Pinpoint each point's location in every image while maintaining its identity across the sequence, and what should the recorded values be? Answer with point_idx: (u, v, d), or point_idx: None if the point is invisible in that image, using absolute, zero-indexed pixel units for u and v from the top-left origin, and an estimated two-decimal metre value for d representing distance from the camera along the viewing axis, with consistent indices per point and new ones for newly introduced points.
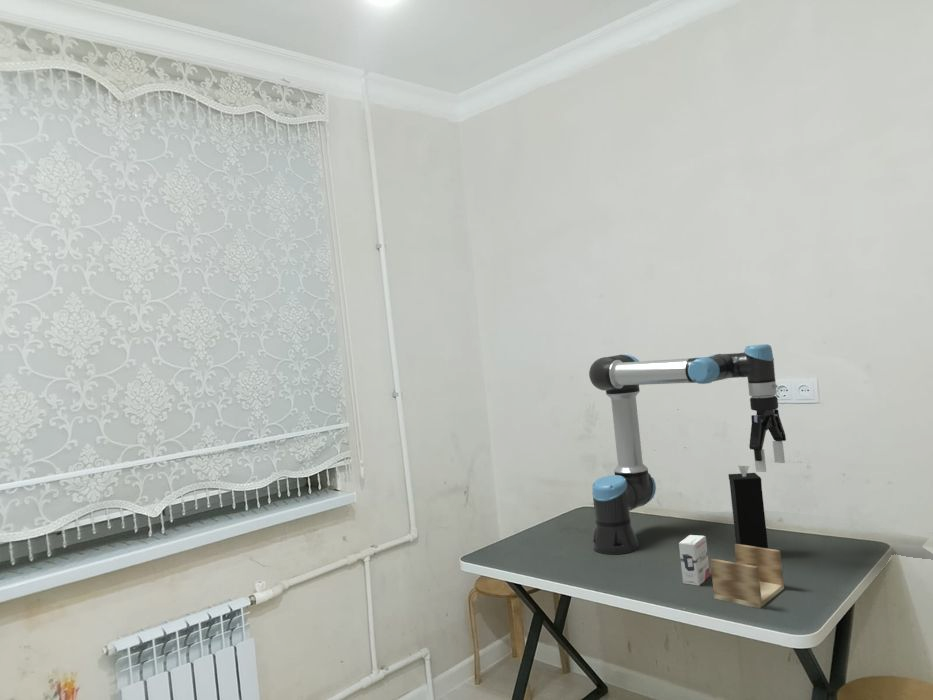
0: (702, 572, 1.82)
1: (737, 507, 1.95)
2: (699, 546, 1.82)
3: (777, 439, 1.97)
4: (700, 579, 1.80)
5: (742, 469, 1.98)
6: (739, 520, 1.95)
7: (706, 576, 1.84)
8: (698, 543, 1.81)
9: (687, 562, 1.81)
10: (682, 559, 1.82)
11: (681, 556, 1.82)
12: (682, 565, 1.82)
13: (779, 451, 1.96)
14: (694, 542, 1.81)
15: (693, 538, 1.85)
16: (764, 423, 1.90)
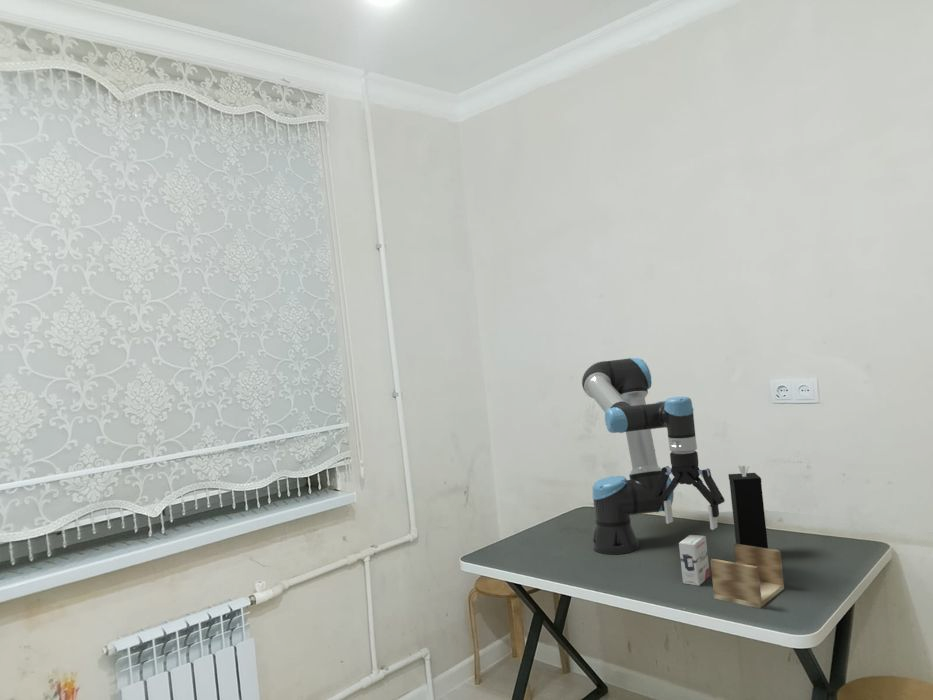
0: (702, 572, 1.82)
1: (737, 507, 1.95)
2: (699, 546, 1.82)
3: None
4: (700, 579, 1.80)
5: (742, 469, 1.98)
6: (739, 520, 1.95)
7: (706, 576, 1.84)
8: (698, 543, 1.81)
9: (687, 562, 1.81)
10: (682, 559, 1.82)
11: (681, 556, 1.82)
12: (682, 565, 1.82)
13: None
14: (694, 542, 1.81)
15: (693, 538, 1.85)
16: None
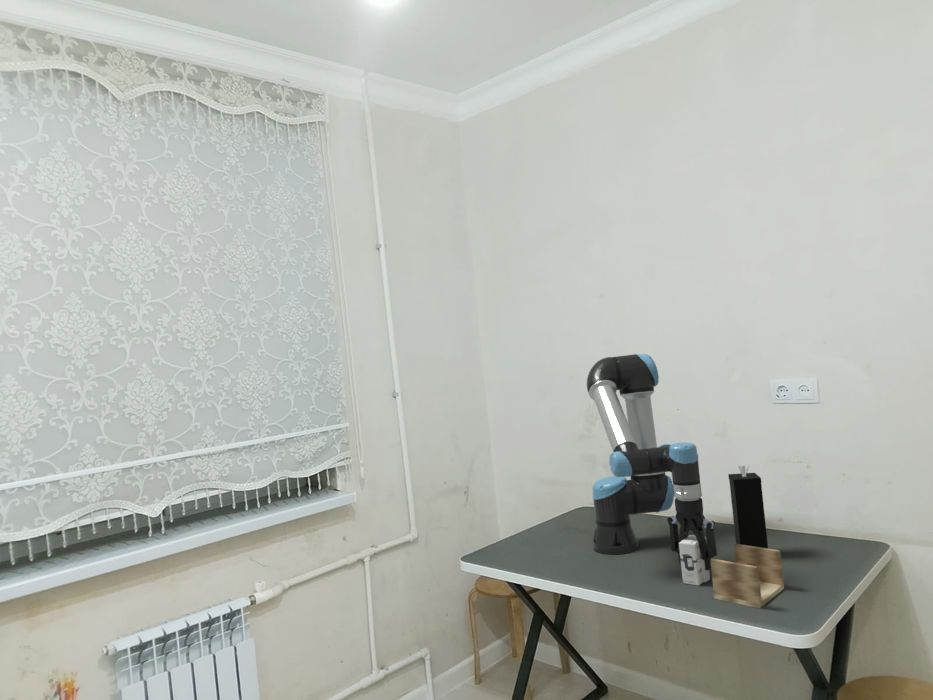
0: None
1: (737, 507, 1.95)
2: None
3: None
4: (700, 578, 1.80)
5: (742, 469, 1.98)
6: (739, 520, 1.95)
7: None
8: (698, 543, 1.81)
9: (687, 562, 1.81)
10: (682, 559, 1.82)
11: (681, 556, 1.82)
12: (682, 565, 1.82)
13: None
14: (694, 542, 1.81)
15: (693, 538, 1.85)
16: None
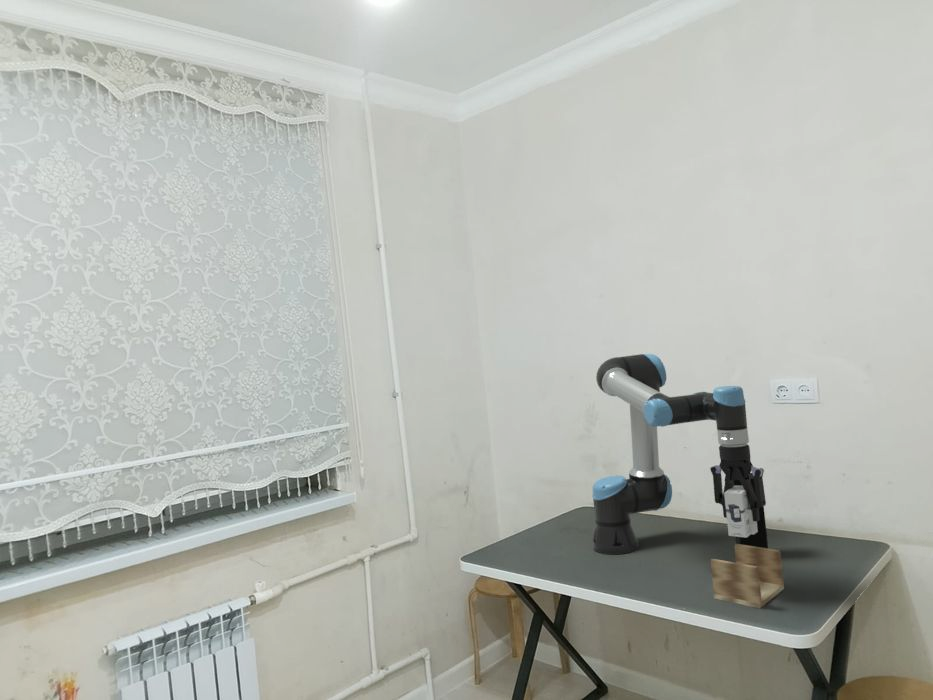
0: None
1: None
2: None
3: None
4: (748, 530, 1.67)
5: None
6: None
7: None
8: (745, 492, 1.68)
9: (734, 512, 1.68)
10: (727, 510, 1.69)
11: (727, 506, 1.69)
12: (728, 516, 1.69)
13: None
14: (741, 491, 1.68)
15: (739, 488, 1.71)
16: None
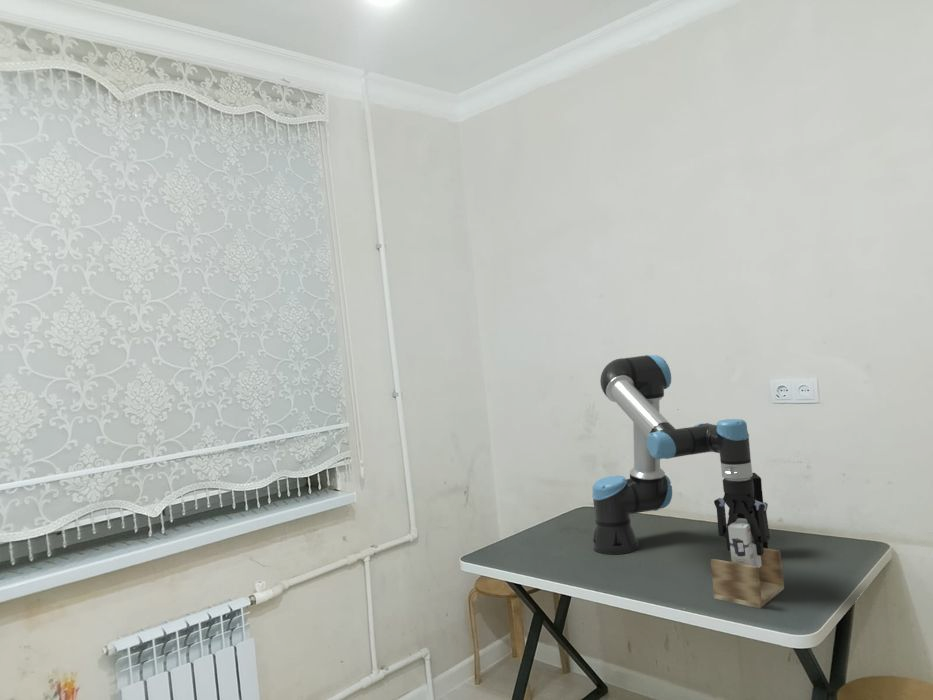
0: None
1: None
2: (750, 530, 1.69)
3: None
4: (752, 565, 1.67)
5: None
6: None
7: None
8: (749, 527, 1.68)
9: (738, 546, 1.68)
10: (731, 544, 1.69)
11: (730, 540, 1.69)
12: (732, 550, 1.69)
13: None
14: (745, 525, 1.68)
15: (743, 521, 1.71)
16: None
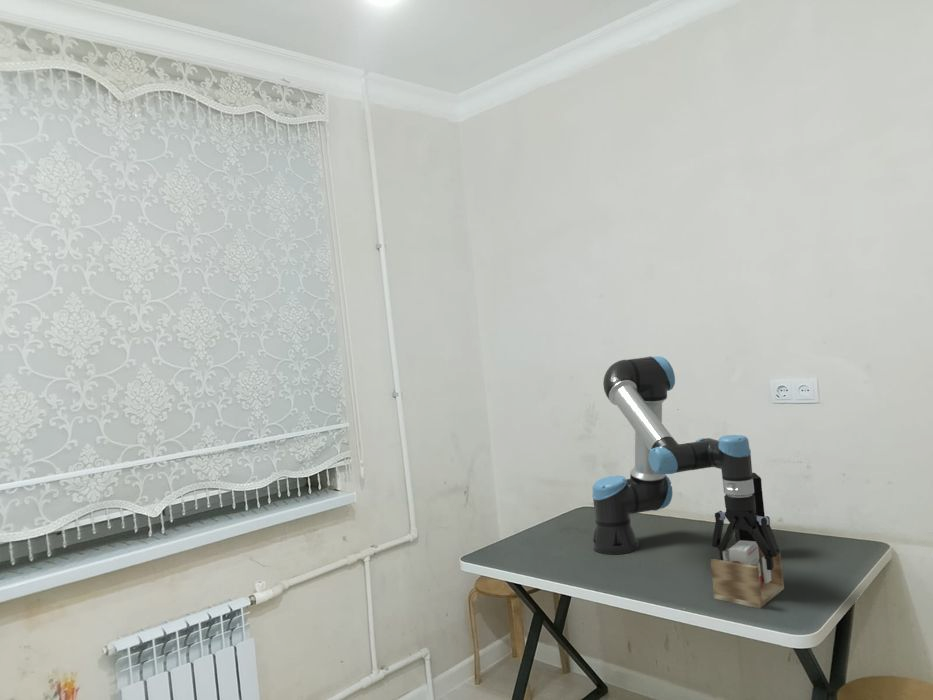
0: None
1: None
2: (751, 553, 1.69)
3: None
4: None
5: None
6: None
7: None
8: (750, 550, 1.68)
9: None
10: None
11: None
12: None
13: None
14: (745, 548, 1.68)
15: (744, 544, 1.72)
16: None
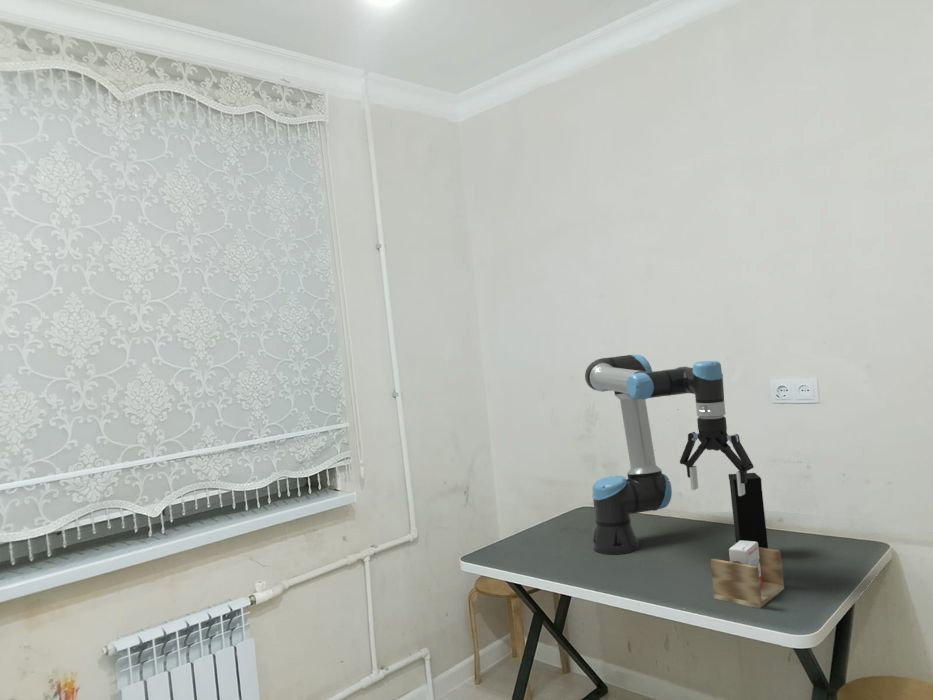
0: None
1: (737, 507, 1.95)
2: (751, 553, 1.69)
3: None
4: None
5: None
6: (739, 520, 1.95)
7: None
8: (750, 550, 1.68)
9: None
10: None
11: None
12: None
13: None
14: (746, 548, 1.68)
15: (744, 544, 1.72)
16: None
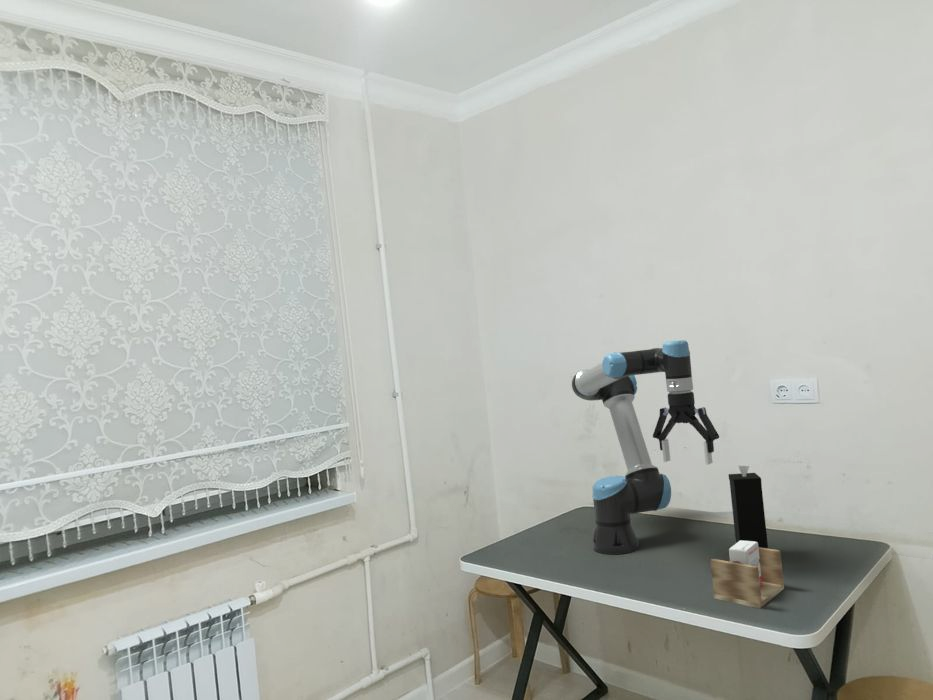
0: None
1: (737, 507, 1.95)
2: (751, 553, 1.69)
3: None
4: None
5: (742, 469, 1.98)
6: (739, 520, 1.95)
7: None
8: (750, 550, 1.68)
9: None
10: None
11: None
12: None
13: None
14: (746, 548, 1.68)
15: (744, 544, 1.72)
16: None
